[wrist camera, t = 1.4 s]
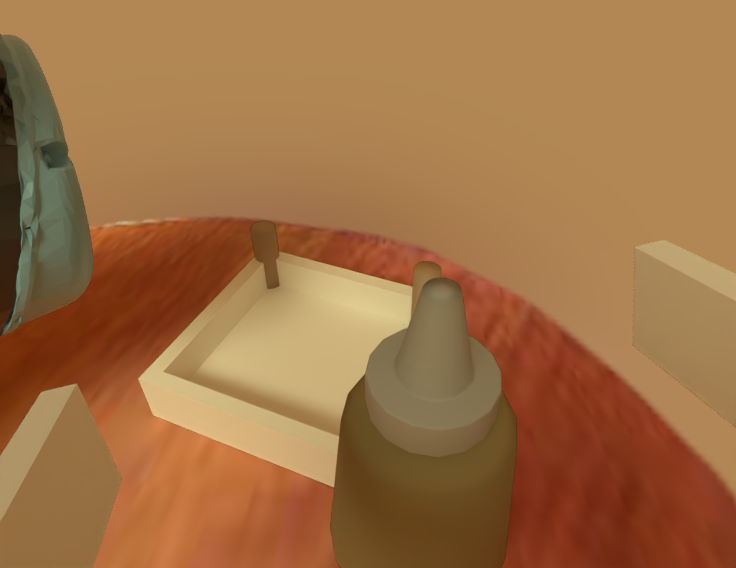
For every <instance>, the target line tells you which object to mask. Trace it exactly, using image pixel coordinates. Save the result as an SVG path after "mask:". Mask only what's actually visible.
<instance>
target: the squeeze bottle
mask: <svg viewBox="0 0 736 568" xmlns="http://www.w3.org/2000/svg"><path fill="white" fill-rule="evenodd" d="M516 452H517V418H516V416H515V414H514V412H513V410H512V408H511V406H510V404H509V402H508V400H507V398H506V396H505V394H504V392H503V391H502V372H501V370H500V368H499V366H498V364H497V362H496V360H495V358H494V356H493V354H492V353H491V352H490V351H489V350H488V349H487V348H485V347H484V346H483V345H482V344H481V343H480V342H478V341H477V340H476V339H475V338H474V337H471V336H469V335H468V328H467V322H466V315H465V308H464V301H463V295H462V289H461V287H460V285H459V284H458V283H456V282H455V281H453V280H451V279H448V278H441V277H439V278H433V279H430V280H428V281H427V282H426V283H425V284H424V285H423V287H422V290H421V293H420V296H419V298H418V301H417V304H416V306H415V309H414V312H413V315H412V317H411V320H410V323H409V326H408V328H405V329H403V330H401V331H399V332H397V333H395V334H393V335H391V336H389V337H387V338H385V339H383V340H382V341H381V343H380V344H379V345H378V346H377V347H376V348H375V349H374V351H373V352H372V353H371V354H370V356H369V360H368V364H367V368H366V372H365V374H364V375H363V376H362V378H361V379H360V380H359V381H358V382H357V383H356V385H355V386H354V387H353V388H352V389H351V391H350V392H349V393H348V395H347V399H346V403H345V406H344V410H343V414H342V417H341V423H340V433H339V443H338V452H337V462H336V472H335V482H334V492H333V502H332V512H331V522H330V529H331V535H332V542H333V548H334V554H335V560H336V562H337V564H338V565H339V567H340V568H501V566H502V564H503V562H504V560H505V555H506V546H507V537H508V527H509V518H510V509H511V499H512V490H513V480H514V471H515V462H516Z"/></svg>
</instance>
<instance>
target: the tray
mask: <svg viewBox="0 0 736 568" xmlns="http://www.w3.org/2000/svg"><path fill="white" fill-rule="evenodd" d="M250 231H251V237H252V243H253V249H254V254H255V257H254V258H253V259H252V260H251V261H250V262H249V263H248V264H247V265H246V266H245V267H244V268H243V269H242V270H241V271H240V272H239V273H238V274H237V275H236V277H235V278H234V279H233V280H232V281H231V282H230V283H229V284H228V285H227V286H226V287H225V288H224V289H223V290H222V291H221V292H220V293H219V294H218V295H217V296H216V297H215V299H214V300H213V301H212V302H211V303H210V304H209V305H208V306H207V307H206V308H205V309H204V310H203V311H202V312H201V313H200V314H199V315H198V316H197V317H196V318H195V319H194V321H193V322H192V323H191V324H190V325H189V326H188V327H187V328H186V329H185V330H184V331H183V332H182V333H181V334H180V335H179V336H178V337H177V338H176V339H175V340H174V341H173V343H172V344H171V345H170V346H169V347H168V348H167V349H166V350H165V351H164V352H163V353H162V354H161V355H160V356H159V357H158V358H157V359H156V360H155V361H154V362H153V363H152V365H151V366H150V367H149V368H148V369H147V370H146V371H145V372H144V373H143V374H142V375H141V376H140V377H139V378H138V380H139V382H140V384H141V387H142V389H143V392H144V394H145V397H146V399H147V401H148V404H149V406H150V409H151V411H152V413H153V415H154V416H156V417H159V418H161V419H164V420H166V421H169V422H171V423H174V424H176V425H179V426H181V427H184V428H186V429H189V430H191V431H194V432H196V433H199V434H201V435H204V436H206V437H209V438H211V439H214V440H216V441H219V442H221V443H224V444H226V445H229V446H231V447H234V448H236V449H239V450H241V451H244V452H246V453H249V454H251V455H254V456H256V457H259V458H261V459H264V460H266V461H269V462H271V463H274V464H276V465H279V466H281V467H284V468H286V469H289V470H291V471H294V472H296V473H299V474H301V475H304V476H306V477H309V478H311V479H314V480H316V481H319V482H321V483H324V484H326V485H329V486H331V487H334V482H335V472H336V462H337V452H338V443H339V433H340V423H341V417H342V414H343V410H344V406H345V403H346V399H347V395H348V393H349V392H350V391H351V389H352V388H353V387H354V386H355V385H356V383H357V382H358V381H359V380H360V379H361V378H362V376H363V375H364V374H365V372H366V368H367V364H368V360H369V356H370V354H371V353H372V352H373V351H374V349H375V348H376V347H377V346H378V345H379V344H380V343H381V341H382V340H383V339H385V338H387V337H389V336H391V335H393V334H395V333H397V332H399V331H401V330H403V329H405V328H408V326H409V323H410V320H411V317H412V315H413V312H414V309H415V306H416V304H417V301H418V298H419V296H420V293H421V290H422V287H423V285H424V284H425V283H426V282H427V281H428V280H430V279H433V278H439V277H441V267H440V266H439V265H438V264H436V263H434V262H430V261H423V262H419V263H417V264H416V265H415V266H414V271H413V287H411V286H407V285H404V284H400V283H396V282H392V281H389V280H385V279H381V278H377V277H374V276H370V275H366V274H362V273H359V272H355V271H351V270H347V269H344V268H340V267H336V266H332V265H329V264H325V263H321V262H317V261H314V260H310V259H306V258H302V257H299V256H295V255H291V254H287V253H284V252H280V251H279V248H278V241H277V234H276V226H275V224H274V223H273V222H270V221H259V222H256V223H254V224H253V225H252V226H251V227H250Z"/></svg>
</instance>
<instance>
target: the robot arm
mask: <svg viewBox="0 0 736 568" xmlns="http://www.w3.org/2000/svg"><path fill="white" fill-rule="evenodd" d="M92 274H93V250H92V242H91V236H90V230H89V224H88V220H87V215H86V210H85V206H84V201H83V197H82V193H81V189H80V185H79V182H78V178H77V175H76V171H75V168H74V166H73V164H72V161H71V160H70V158H69V157H68V147H67V144H66V141H65V137H64V132H63V127H62V123H61V120H60V116H59V114H58V110H57V108H56V105H55V102H54V99H53V97H52V94H51V91H50V88H49V85H48V83H47V81H46V78H45V76H44V73H43V71H42V69H41V67H40V64H39V62H38V60H37V59H36V57H35V55H34V54H33V52H32V50H31V48H30V47H29V46H28V44H27V43H25V42H24V41H23V40H22V39H20V38H18V37H16V36H12V35H1V34H0V336H1V335H2V336H4V335H7V334H10V333H12V332H13V331H15V330H16V329H17V328H18V327H19V326H20V325H22V324H24V323H27V322H29V321H32V320H34V319H36V318H39V317H41V316H44V315H46V314H48V313H51V312H53V311H56V310H58V309H60V308H63V307H65V306H67V305H69V304H71V303H73V302H74V301H76V300H77V299H78V298H79V297H80V296H81V295H82V294H83V293H84V292H85V291H86V289H87V287H88V285H89V283H90V281H91V278H92ZM633 298H634V299H633V346H634V347H636V348H637V349H638V350H639V351H641V352H642V353H643V354H644V355H646V356H647V357H648V358H649V359H651V360H652V361H653V362H654V363H656V364H657V365H658V366H659V367H661V368H662V369H663V370H664V371H666V372H667V373H668V374H669V375H671V376H672V377H673V378H675V379H676V380H677V381H678V382H679V383H681V384H682V385H683V386H684V387H686V388H687V389H688V390H690V391H691V392H692V393H693V394H694V395H696V396H697V397H698V398H699V399H701V400H702V401H703V402H704V403H706V404H707V405H708V406H710V407H711V408H712V409H713V410H714V411H716V412H717V413H718V414H719V415H721V416H722V417H723V418H725V419H726V420H727V421H728V422H729V423H731V424H732V425H733V426H734V427H736V274H735V273H733V272H731V271H729V270H726V269H725V268H722V267H720V266H718V265H716V264H714V263H712V262H710V261H708V260H706V259H704V258H701V257H699V256H697V255H695V254H693V253H691V252H689V251H687V250H685V249H683V248H680V247H678V246H676V245H674V244H672V243H670V242H668V241H666V240H661V241H657V242H652V243H648V244H645V245H640V246H636V247H634V297H633ZM121 480H122V477H121V475H120V473H119V471H118V469H117V466H116V464H115V462H114V460H113V458H112V456H111V454H110V452H109V450H108V447H107V445H106V443H105V441H104V439H103V437H102V435H101V433H100V431H99V429H98V426H97V424H96V422H95V420H94V418H93V416H92V414H91V412H90V410H89V407H88V405H87V403H86V401H85V399H84V397H83V395H82V393H81V391H80V388H79V386H78V384H77V383H76V384H72V385H67V386H63V387H59V388H55V389H51V390H47V391H43V392H41V393H40V395H39V396H38V398H37V399H36V401H35V403H34V404H33V406H32V407H31V409H30V410H29V412H28V413H27V415H26V417H25V418H24V420H23V421H22V423H21V424H20V426H19V427H18V429H17V431H16V432H15V434H14V435H13V437H12V438H11V440H10V442H9V443H8V445H7V446H6V448H5V449H4V451H3V452H2V454H1V456H0V568H93V566H94V563H95V560H96V557H97V554H98V551H99V548H100V545H101V542H102V539H103V535H104V532H105V529H106V526H107V523H108V520H109V517H110V514H111V511H112V508H113V505H114V502H115V499H116V495H117V492H118V489H119V486H120V483H121Z"/></svg>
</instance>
